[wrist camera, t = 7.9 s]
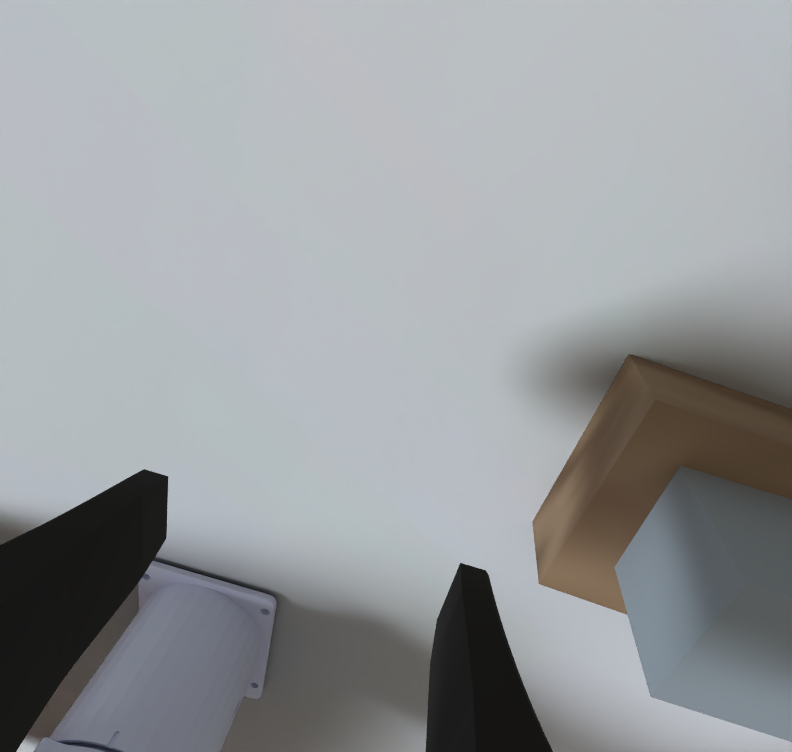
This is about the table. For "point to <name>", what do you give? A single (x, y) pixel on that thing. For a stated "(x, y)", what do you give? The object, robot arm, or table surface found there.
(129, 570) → the robot arm
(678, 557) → the slate cube
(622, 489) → the walnut block
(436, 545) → the table surface
